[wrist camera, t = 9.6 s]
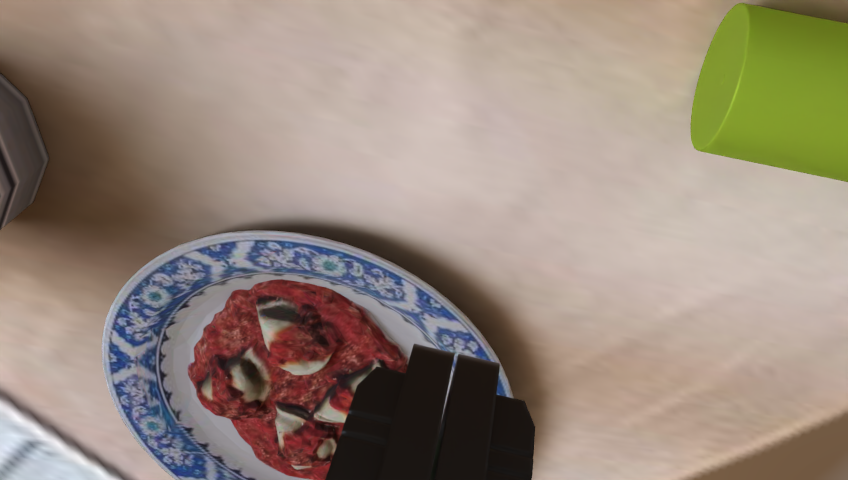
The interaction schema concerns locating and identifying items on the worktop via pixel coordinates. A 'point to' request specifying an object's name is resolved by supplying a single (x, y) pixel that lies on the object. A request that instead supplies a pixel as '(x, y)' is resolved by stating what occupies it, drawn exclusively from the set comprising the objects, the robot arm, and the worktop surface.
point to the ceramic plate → (265, 350)
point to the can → (18, 153)
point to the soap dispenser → (775, 92)
